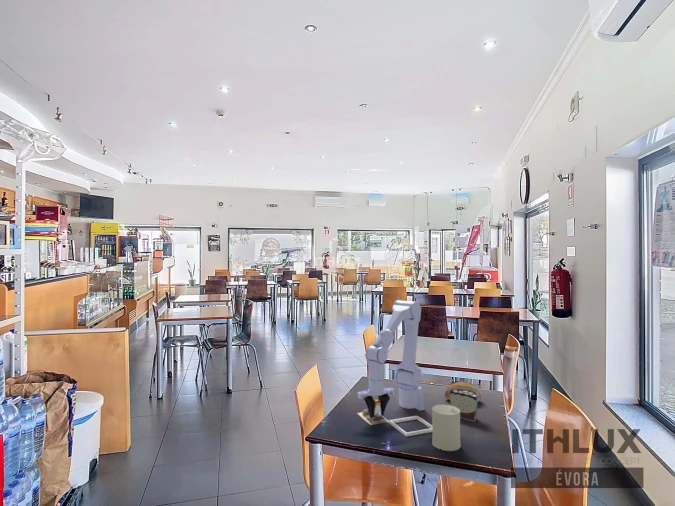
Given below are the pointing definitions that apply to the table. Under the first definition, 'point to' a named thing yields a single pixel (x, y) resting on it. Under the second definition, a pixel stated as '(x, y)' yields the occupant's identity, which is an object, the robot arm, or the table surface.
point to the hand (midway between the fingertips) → (376, 415)
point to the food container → (465, 402)
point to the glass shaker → (377, 410)
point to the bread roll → (461, 385)
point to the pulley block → (369, 419)
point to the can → (446, 427)
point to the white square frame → (409, 420)
